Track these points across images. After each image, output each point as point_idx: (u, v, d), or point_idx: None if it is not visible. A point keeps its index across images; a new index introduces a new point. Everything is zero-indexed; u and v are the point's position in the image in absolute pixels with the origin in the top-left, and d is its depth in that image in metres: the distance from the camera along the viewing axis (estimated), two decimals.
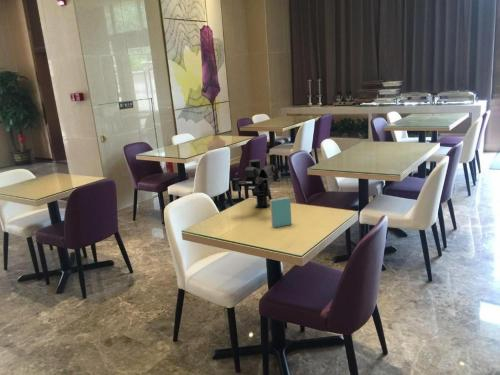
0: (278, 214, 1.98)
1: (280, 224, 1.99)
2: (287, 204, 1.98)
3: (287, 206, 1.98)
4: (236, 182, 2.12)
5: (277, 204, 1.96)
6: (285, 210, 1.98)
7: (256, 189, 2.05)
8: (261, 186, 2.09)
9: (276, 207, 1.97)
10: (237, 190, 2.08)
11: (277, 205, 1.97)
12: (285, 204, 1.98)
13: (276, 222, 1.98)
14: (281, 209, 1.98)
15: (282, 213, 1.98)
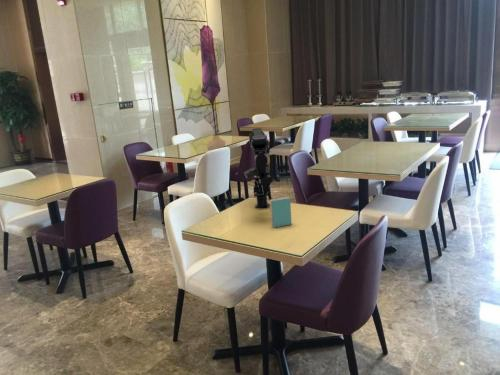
0: (278, 214, 1.98)
1: (280, 224, 1.99)
2: (287, 204, 1.98)
3: (287, 206, 1.98)
4: (255, 180, 2.15)
5: (277, 204, 1.96)
6: (285, 210, 1.98)
7: (265, 191, 2.08)
8: (265, 182, 2.06)
9: (276, 207, 1.97)
10: None
11: (277, 205, 1.97)
12: (285, 204, 1.98)
13: (276, 222, 1.98)
14: (281, 209, 1.98)
15: (282, 213, 1.98)
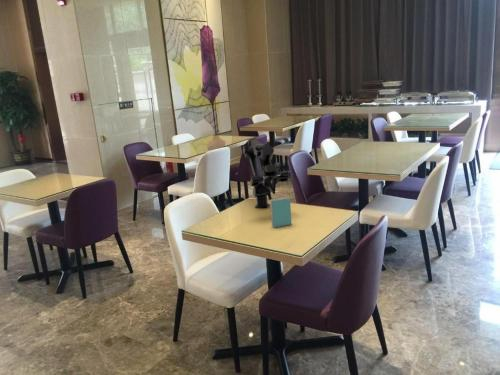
0: (278, 214, 1.98)
1: (280, 224, 1.99)
2: (287, 204, 1.98)
3: (287, 206, 1.98)
4: (268, 181, 2.06)
5: (277, 204, 1.96)
6: (285, 210, 1.98)
7: None
8: None
9: (276, 207, 1.97)
10: None
11: (277, 205, 1.97)
12: (285, 204, 1.98)
13: (276, 222, 1.98)
14: (281, 209, 1.98)
15: (282, 213, 1.98)
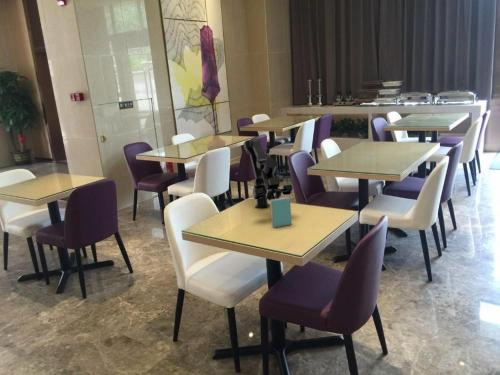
0: (278, 214, 1.98)
1: (280, 224, 1.99)
2: (287, 204, 1.98)
3: (287, 206, 1.98)
4: (271, 194, 2.04)
5: (277, 204, 1.96)
6: (285, 210, 1.98)
7: None
8: None
9: (276, 207, 1.97)
10: None
11: (277, 205, 1.97)
12: (285, 204, 1.97)
13: (276, 222, 1.98)
14: (281, 209, 1.98)
15: (282, 213, 1.98)
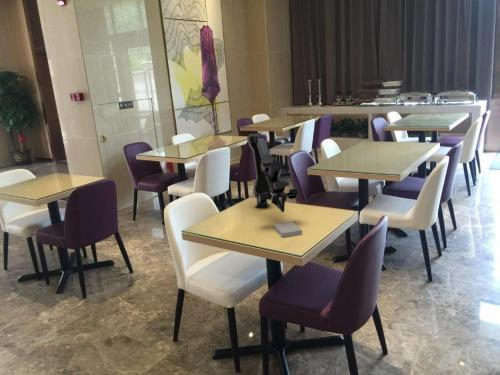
0: None
1: None
2: None
3: None
4: (277, 199, 1.97)
5: None
6: None
7: None
8: None
9: None
10: None
11: None
12: None
13: None
14: None
15: None
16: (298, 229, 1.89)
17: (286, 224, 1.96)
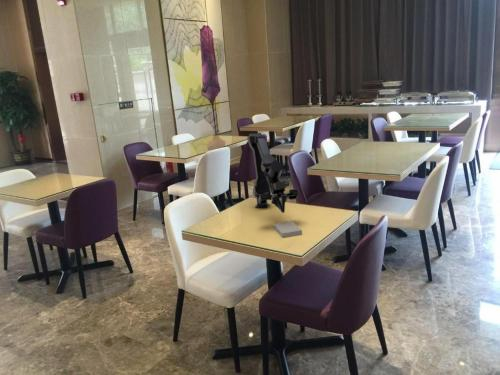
0: None
1: None
2: None
3: None
4: (277, 199, 1.96)
5: None
6: None
7: None
8: None
9: None
10: None
11: None
12: None
13: None
14: None
15: None
16: (298, 229, 1.89)
17: (286, 224, 1.96)
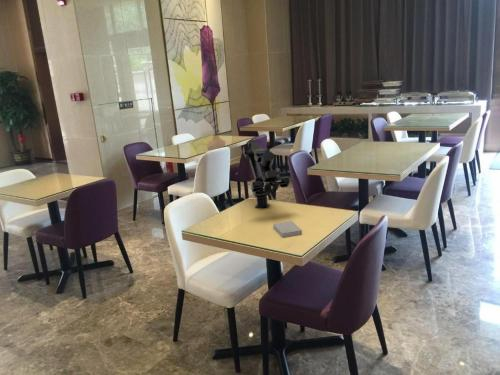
0: None
1: None
2: None
3: None
4: (269, 187, 2.07)
5: None
6: None
7: (275, 196, 2.07)
8: None
9: None
10: None
11: None
12: None
13: None
14: None
15: None
16: (298, 229, 1.89)
17: (286, 224, 1.96)
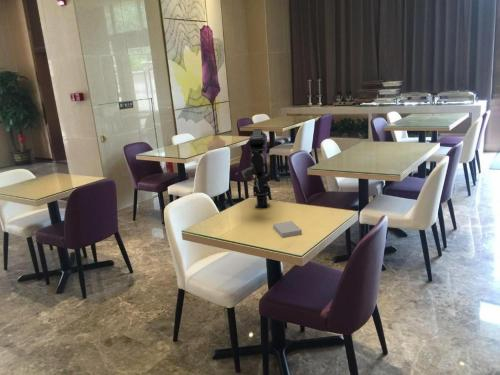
0: None
1: None
2: None
3: None
4: None
5: None
6: None
7: (261, 188, 2.14)
8: None
9: None
10: None
11: None
12: None
13: None
14: None
15: None
16: (298, 229, 1.89)
17: (286, 224, 1.96)
